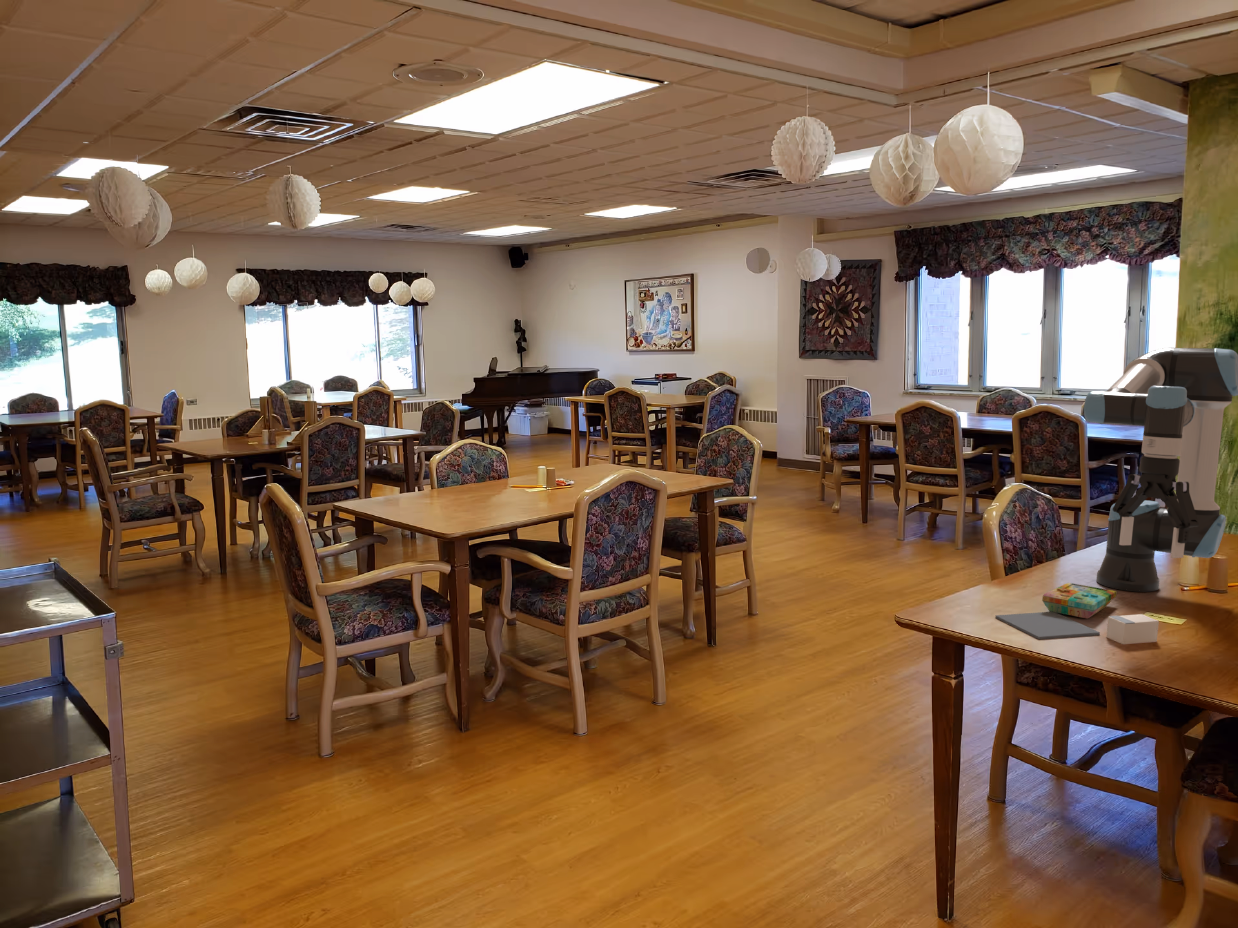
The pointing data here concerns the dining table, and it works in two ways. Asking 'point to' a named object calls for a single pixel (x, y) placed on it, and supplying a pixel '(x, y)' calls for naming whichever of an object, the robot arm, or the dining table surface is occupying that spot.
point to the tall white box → (1132, 629)
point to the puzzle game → (1078, 599)
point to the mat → (1047, 625)
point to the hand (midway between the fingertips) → (1150, 551)
